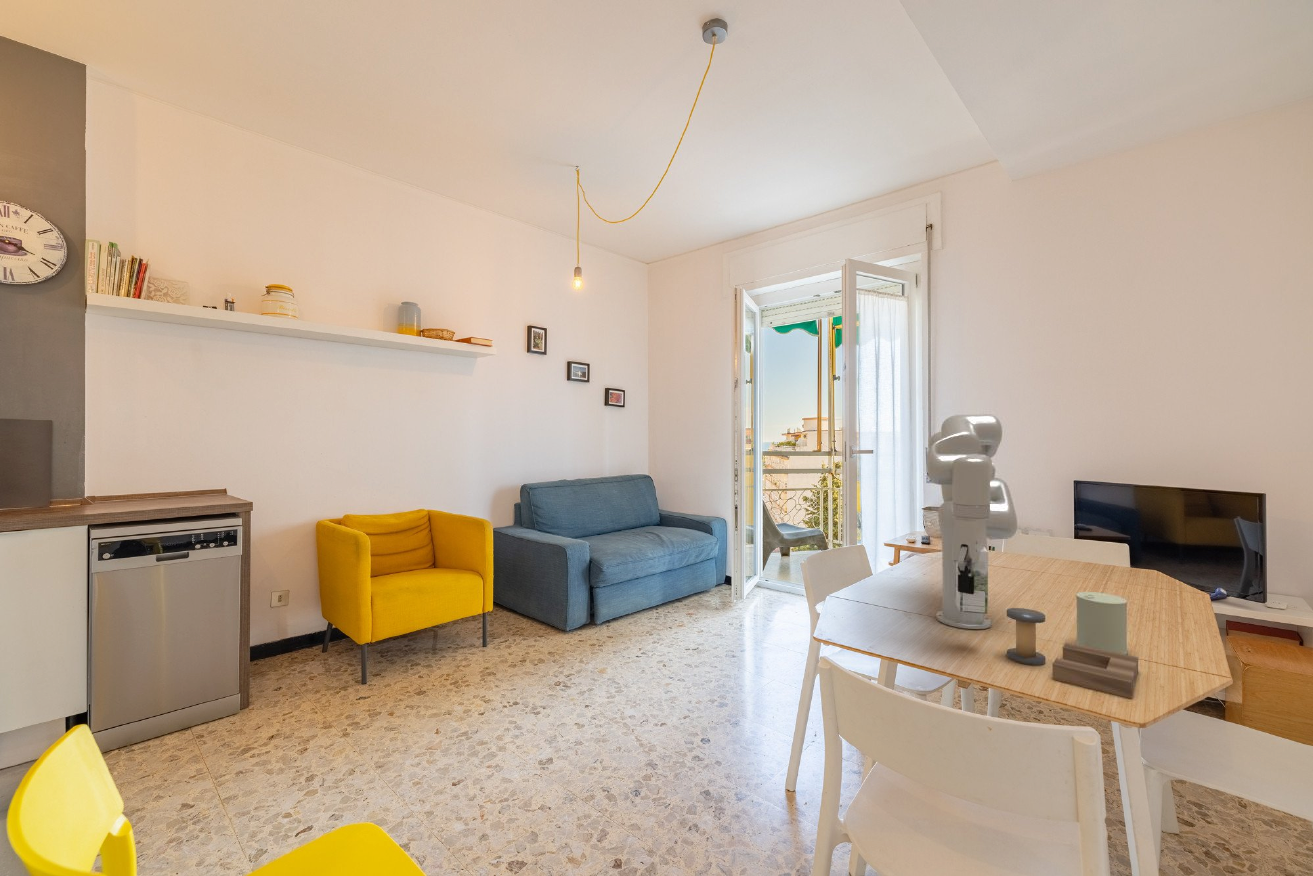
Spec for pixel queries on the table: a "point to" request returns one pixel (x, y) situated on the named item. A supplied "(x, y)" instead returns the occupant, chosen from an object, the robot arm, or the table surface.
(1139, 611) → the table surface
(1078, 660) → the notched board
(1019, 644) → the gray-flanged bobbin
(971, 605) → the syrup box
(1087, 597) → the can
